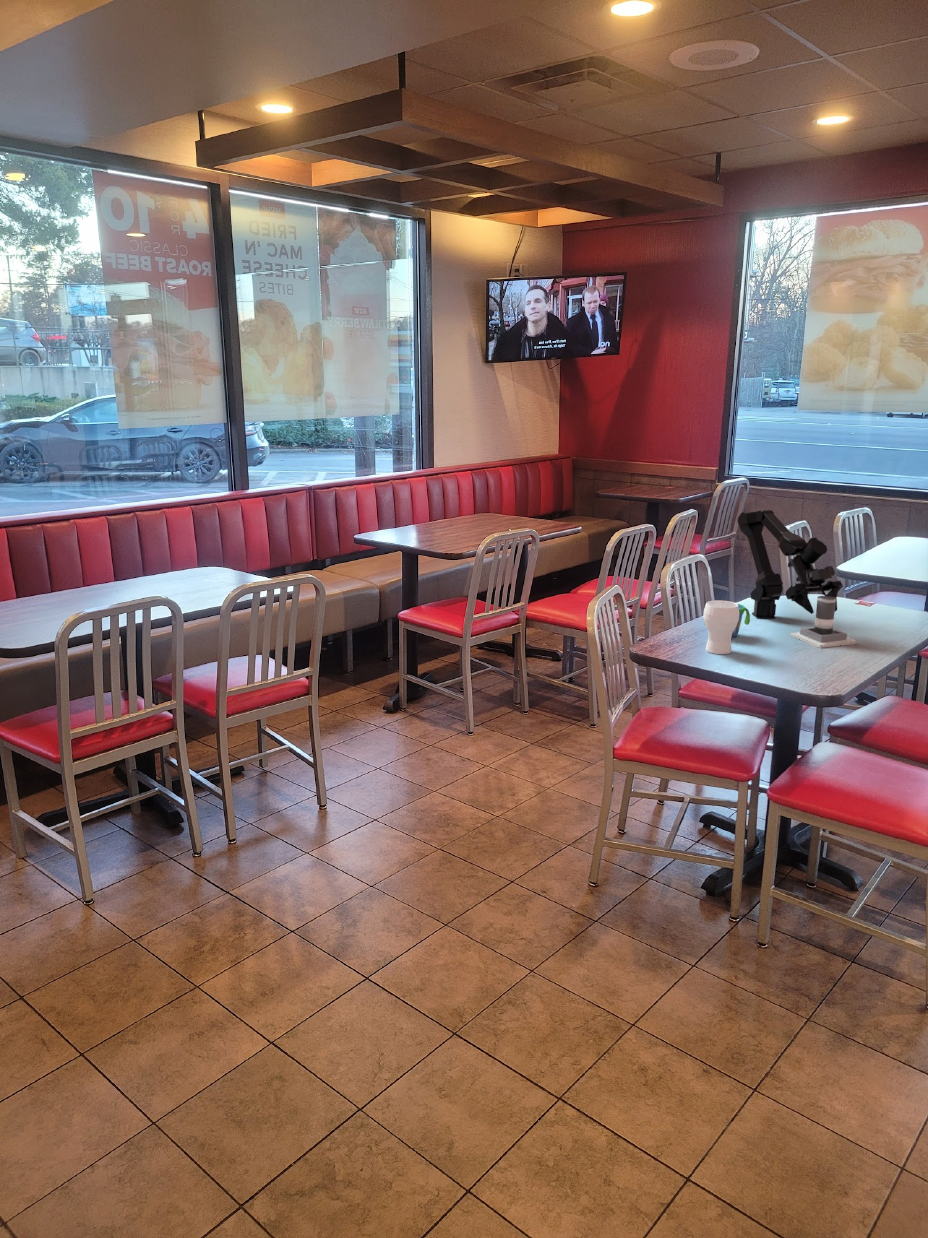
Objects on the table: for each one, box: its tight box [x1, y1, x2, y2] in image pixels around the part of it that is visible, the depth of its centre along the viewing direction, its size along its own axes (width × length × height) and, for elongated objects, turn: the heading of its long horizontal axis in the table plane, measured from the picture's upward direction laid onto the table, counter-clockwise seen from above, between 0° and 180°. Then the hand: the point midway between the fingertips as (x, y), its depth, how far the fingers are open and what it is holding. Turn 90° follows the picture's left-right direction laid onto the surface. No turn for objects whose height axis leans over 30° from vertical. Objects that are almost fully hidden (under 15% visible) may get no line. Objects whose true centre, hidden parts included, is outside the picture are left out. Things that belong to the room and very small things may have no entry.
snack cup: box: [703, 602, 751, 638], centre depth 295 cm, size 16×10×10 cm
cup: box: [703, 599, 739, 655], centre depth 278 cm, size 11×11×15 cm
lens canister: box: [814, 595, 836, 635], centre depth 289 cm, size 6×6×13 cm
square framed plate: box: [790, 626, 857, 649], centre depth 291 cm, size 14×14×3 cm
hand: (824, 611), depth 289 cm, fingers open, 9 cm apart
